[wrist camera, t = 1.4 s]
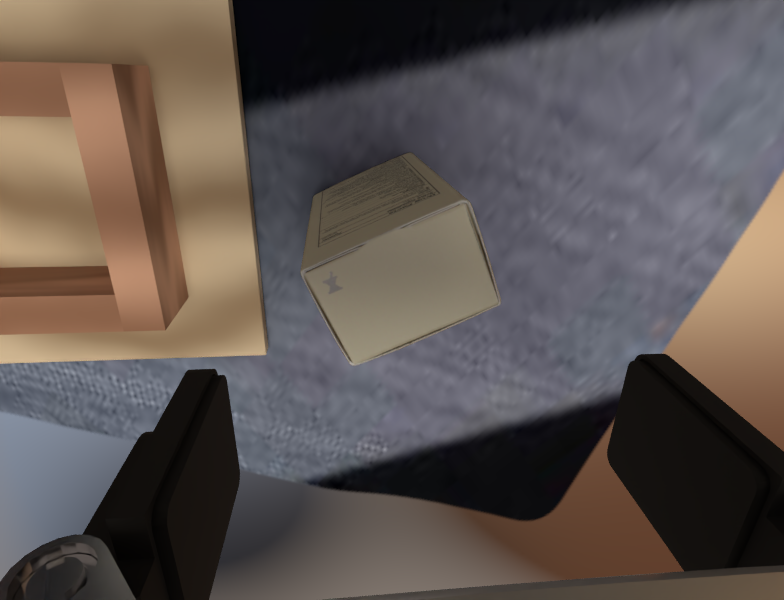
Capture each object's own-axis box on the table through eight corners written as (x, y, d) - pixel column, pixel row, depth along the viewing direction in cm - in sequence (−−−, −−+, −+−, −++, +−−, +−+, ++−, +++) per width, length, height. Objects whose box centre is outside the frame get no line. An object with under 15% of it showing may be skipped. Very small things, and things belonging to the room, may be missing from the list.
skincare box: (343, 260, 29) (343, 375, 18) (310, 193, 27) (287, 275, 16) (443, 217, 28) (508, 308, 17) (417, 146, 26) (470, 197, 15)
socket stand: (-253, -46, 21) (-421, -81, 16) (229, -29, 22) (200, -55, 18) (-72, 357, 29) (-149, 409, 24) (268, 346, 31) (255, 393, 26)
